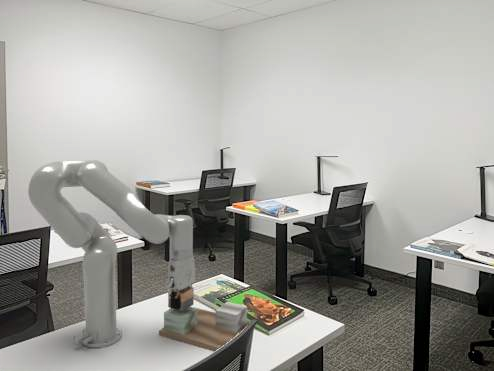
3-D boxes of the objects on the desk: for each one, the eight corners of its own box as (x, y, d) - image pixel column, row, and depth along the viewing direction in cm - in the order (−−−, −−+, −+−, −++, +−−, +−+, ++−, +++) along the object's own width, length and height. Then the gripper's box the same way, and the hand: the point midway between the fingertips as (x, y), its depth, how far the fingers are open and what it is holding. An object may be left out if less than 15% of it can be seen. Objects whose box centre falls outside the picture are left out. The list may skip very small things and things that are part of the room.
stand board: (221, 353, 130) (222, 330, 129) (158, 334, 141) (158, 313, 140) (251, 325, 149) (251, 305, 148) (193, 311, 160) (193, 292, 159)
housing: (183, 311, 138) (183, 290, 137) (168, 307, 141) (168, 287, 140) (193, 304, 144) (193, 284, 143) (178, 300, 146) (178, 281, 145)
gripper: (175, 261, 130) (175, 317, 133) (204, 248, 146) (204, 298, 148) (155, 258, 134) (155, 312, 136) (186, 245, 149) (186, 293, 152)
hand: (180, 304), depth 142 cm, fingers closed on housing, 6 cm apart
